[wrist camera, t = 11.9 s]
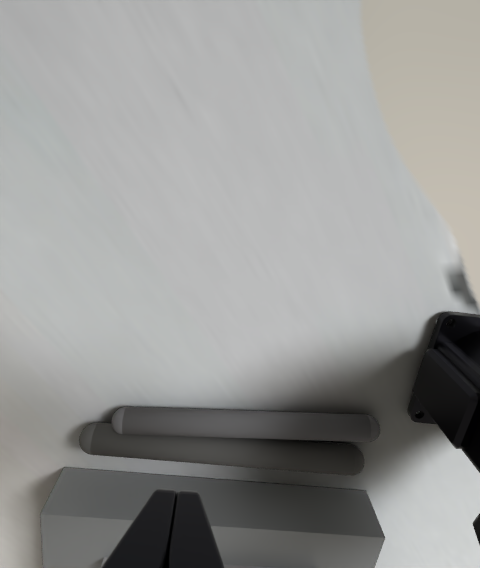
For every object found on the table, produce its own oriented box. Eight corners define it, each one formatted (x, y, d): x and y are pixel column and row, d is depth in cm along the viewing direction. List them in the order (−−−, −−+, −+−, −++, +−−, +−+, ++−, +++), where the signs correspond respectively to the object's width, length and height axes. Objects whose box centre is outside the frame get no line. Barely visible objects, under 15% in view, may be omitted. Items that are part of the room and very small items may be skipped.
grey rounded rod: (361, 439, 22) (371, 460, 21) (355, 461, 23) (364, 483, 21) (85, 414, 21) (74, 435, 19) (85, 438, 21) (74, 460, 20)
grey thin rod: (376, 409, 21) (386, 426, 20) (372, 429, 22) (381, 448, 21) (115, 400, 21) (107, 418, 19) (116, 422, 21) (108, 440, 20)
